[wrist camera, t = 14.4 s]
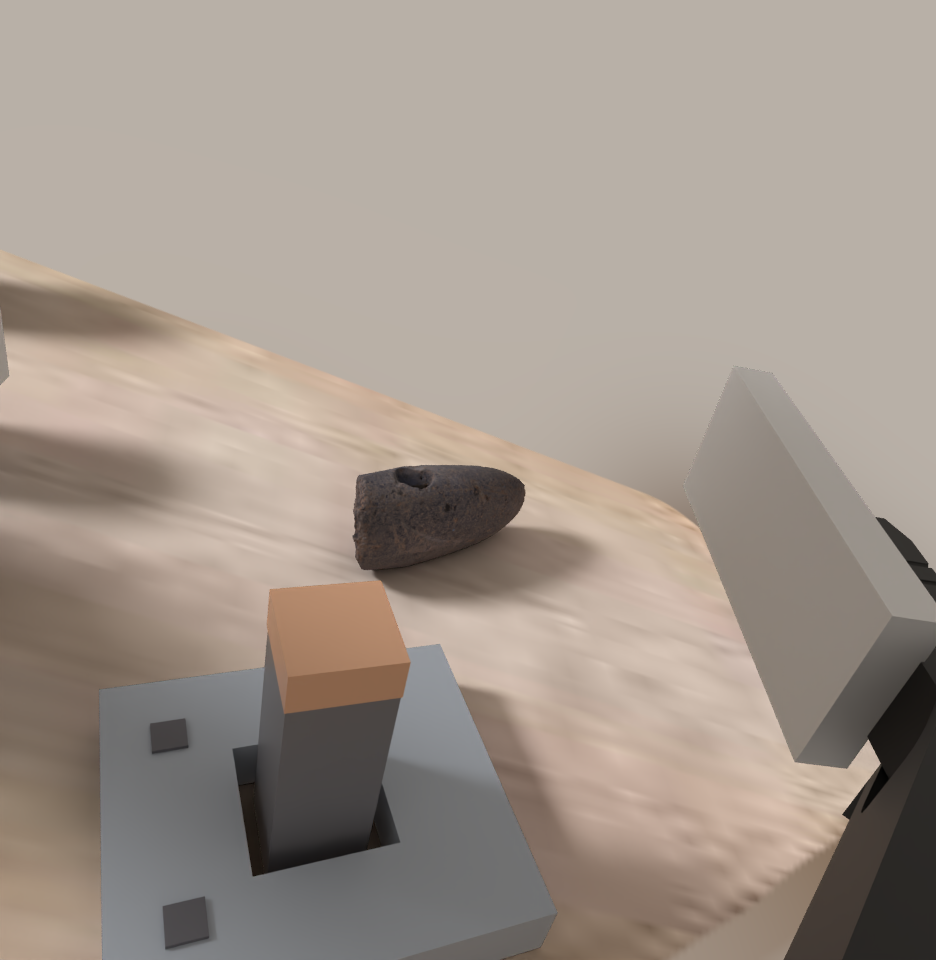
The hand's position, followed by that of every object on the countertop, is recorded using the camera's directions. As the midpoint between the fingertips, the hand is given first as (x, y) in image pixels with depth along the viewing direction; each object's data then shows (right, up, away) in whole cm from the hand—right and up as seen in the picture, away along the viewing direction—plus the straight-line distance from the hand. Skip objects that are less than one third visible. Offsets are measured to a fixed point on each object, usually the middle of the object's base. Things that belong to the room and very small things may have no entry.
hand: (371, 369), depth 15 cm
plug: (-6, -19, +24) cm, 31 cm away
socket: (-6, -19, +24) cm, 32 cm away
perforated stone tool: (-1, -7, +44) cm, 45 cm away
